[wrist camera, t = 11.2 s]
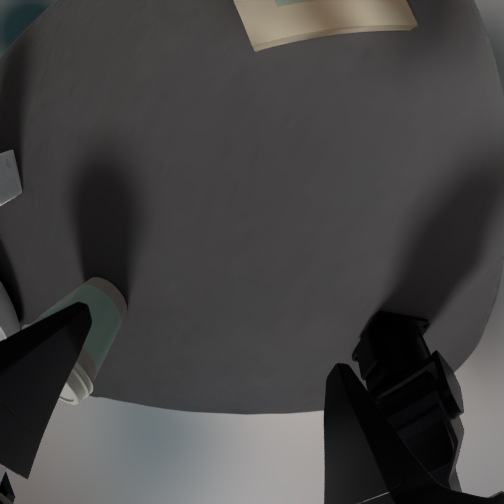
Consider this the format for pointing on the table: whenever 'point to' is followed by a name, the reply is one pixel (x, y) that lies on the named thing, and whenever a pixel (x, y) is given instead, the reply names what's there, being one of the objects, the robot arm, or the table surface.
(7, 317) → the serving bowl
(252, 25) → the board
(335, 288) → the table surface
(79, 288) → the coffee cup
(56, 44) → the table surface
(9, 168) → the syrup box
